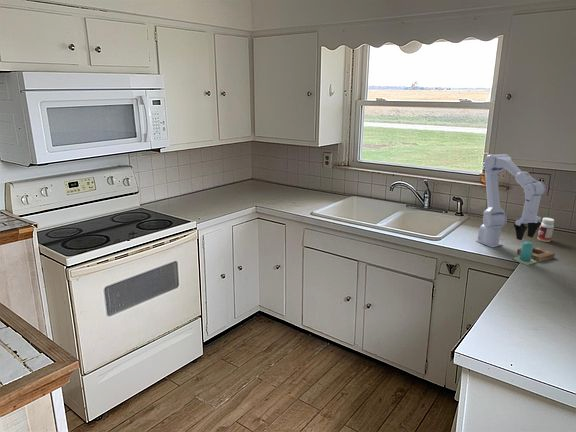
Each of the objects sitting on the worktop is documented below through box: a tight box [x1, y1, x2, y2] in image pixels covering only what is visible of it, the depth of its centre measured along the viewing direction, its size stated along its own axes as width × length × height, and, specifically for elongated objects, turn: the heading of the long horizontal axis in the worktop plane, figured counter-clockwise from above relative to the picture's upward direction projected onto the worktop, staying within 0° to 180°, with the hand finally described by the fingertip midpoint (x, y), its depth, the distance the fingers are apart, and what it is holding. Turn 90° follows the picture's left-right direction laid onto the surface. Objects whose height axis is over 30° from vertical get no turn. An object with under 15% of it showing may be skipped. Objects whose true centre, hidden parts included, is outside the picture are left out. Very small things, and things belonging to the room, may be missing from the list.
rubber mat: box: [512, 255, 538, 266], centre depth 198 cm, size 7×7×1 cm
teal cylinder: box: [519, 240, 535, 262], centre depth 197 cm, size 4×4×8 cm
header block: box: [516, 245, 556, 263], centre depth 204 cm, size 11×11×2 cm
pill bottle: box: [537, 217, 555, 243], centre depth 222 cm, size 6×6×11 cm
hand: (524, 238), depth 197 cm, fingers open, 7 cm apart
